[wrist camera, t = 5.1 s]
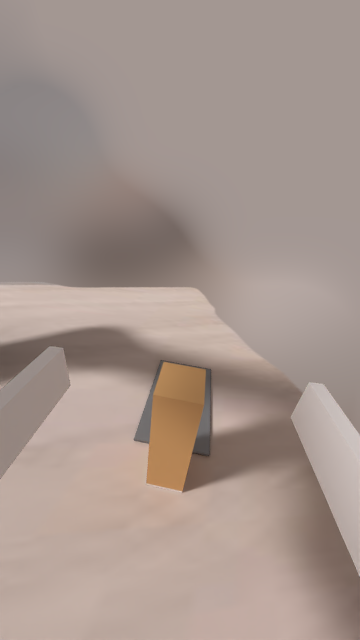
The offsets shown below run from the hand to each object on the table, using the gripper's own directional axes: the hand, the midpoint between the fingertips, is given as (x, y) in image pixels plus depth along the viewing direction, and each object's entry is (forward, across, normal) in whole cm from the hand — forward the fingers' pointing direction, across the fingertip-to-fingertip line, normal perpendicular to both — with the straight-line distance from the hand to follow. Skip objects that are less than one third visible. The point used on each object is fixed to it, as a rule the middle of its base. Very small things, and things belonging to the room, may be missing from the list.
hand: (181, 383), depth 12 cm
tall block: (+7, 0, -22) cm, 23 cm away
